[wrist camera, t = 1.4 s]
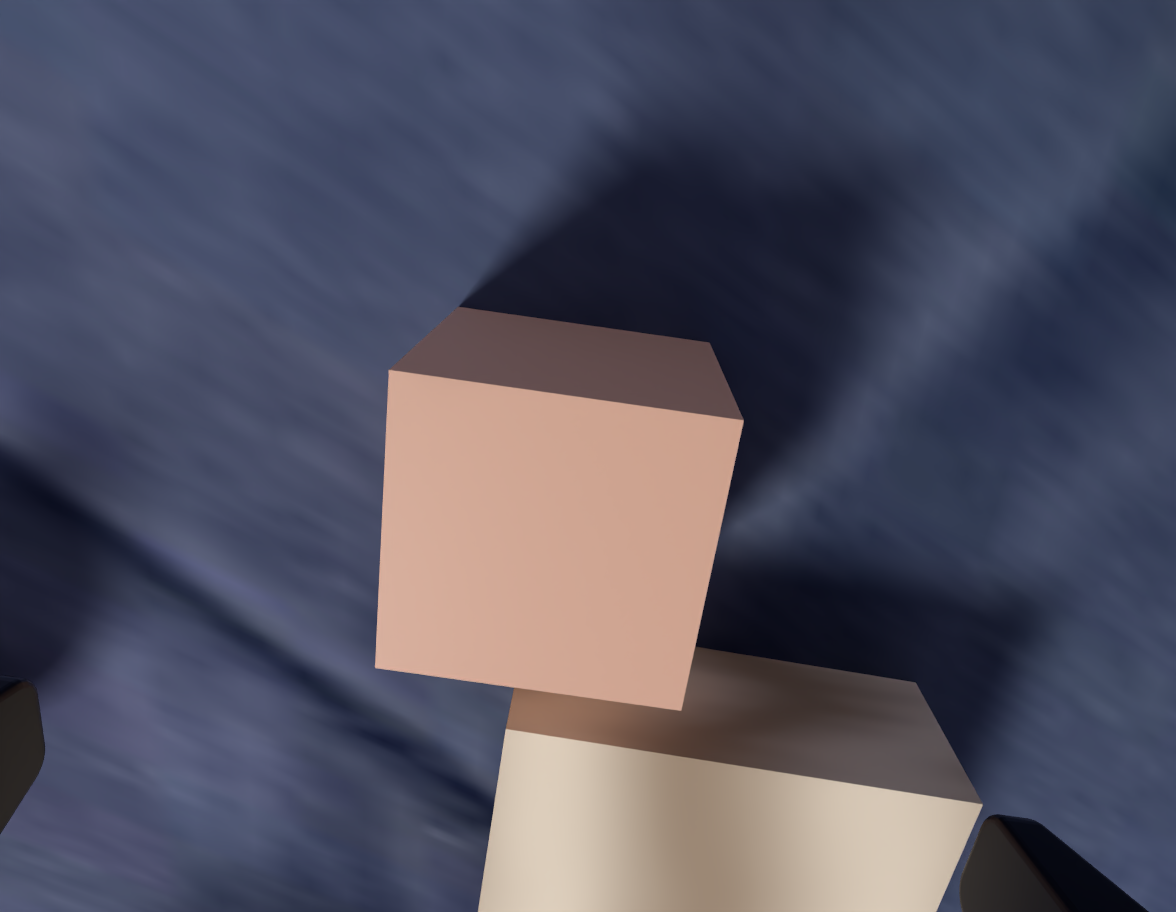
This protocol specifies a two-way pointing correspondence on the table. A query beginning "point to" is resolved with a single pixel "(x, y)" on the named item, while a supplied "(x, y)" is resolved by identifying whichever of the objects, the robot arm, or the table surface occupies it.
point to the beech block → (729, 797)
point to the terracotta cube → (552, 506)
